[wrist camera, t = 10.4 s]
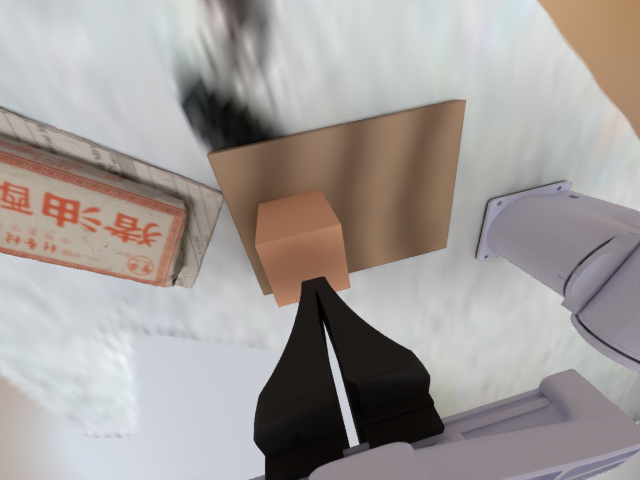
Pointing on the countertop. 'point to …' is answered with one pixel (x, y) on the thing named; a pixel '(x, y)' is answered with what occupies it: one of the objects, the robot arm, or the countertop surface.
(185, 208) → the packaged product
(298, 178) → the board
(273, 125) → the countertop surface
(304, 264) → the orange rectangular block
